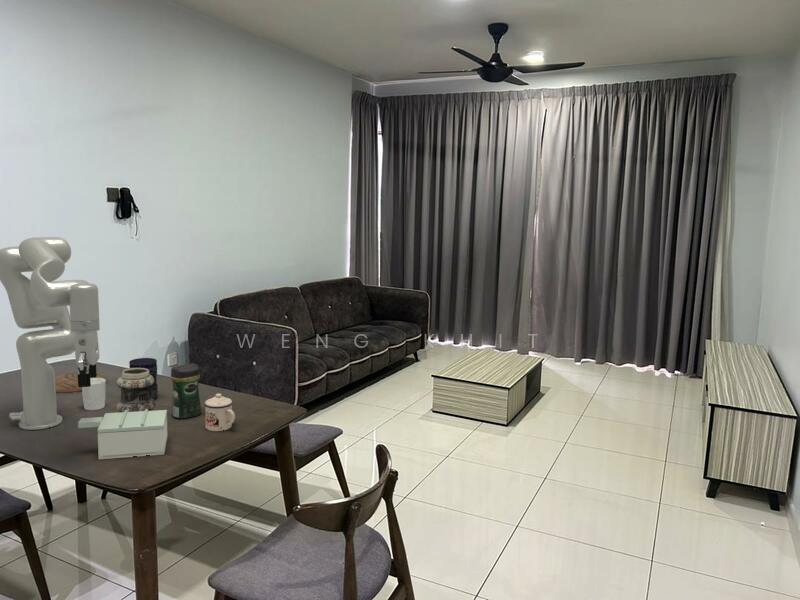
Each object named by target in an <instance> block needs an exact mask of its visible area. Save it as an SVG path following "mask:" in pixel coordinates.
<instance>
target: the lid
mask: <svg viewBox="0 0 800 600" xmlns="http://www.w3.org/2000/svg"><path fill="white" fill-rule="evenodd" d="M166 415H167V416H168V410H167V409H163V410H162V409H160V410H151V411H148V409H145V411H138V412H128V411H127V410H125V411H124V412H105V413H104V416H100V417H99V416H98V417H81V418H80V419H79V420H78V422H77V427H78V429H85V428H86V429H87V428H97V434H98V433H103V432H119V431H135V430H150V429H164V425H165V420H166Z"/></svg>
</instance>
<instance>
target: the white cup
mask: <svg viewBox="0 0 800 600" xmlns="http://www.w3.org/2000/svg"><path fill="white" fill-rule="evenodd" d="M90 381H91V386H90V387H82V392H81V394H82V401H83V409H84V410H86V411H98V410H101V409H104V408H105V407H106V390H107V389H106V385H107V383H106V380H105V379H103V378H90Z"/></svg>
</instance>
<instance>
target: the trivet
mask: <svg viewBox="0 0 800 600" xmlns="http://www.w3.org/2000/svg"><path fill="white" fill-rule="evenodd" d="M95 378H103V379H105V380H106V384H108V376H106V375H105V374H103V373H99V372H97V376H96V377H95ZM55 385H56V393H69V394H74V393H73V392H79V393H82V387H78V371H77V372H65V373H59V374H55Z"/></svg>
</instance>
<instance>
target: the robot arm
mask: <svg viewBox="0 0 800 600" xmlns="http://www.w3.org/2000/svg"><path fill="white" fill-rule="evenodd" d="M71 256H72V248H71V246H70V244H69V242H68V241H67V240H66V239H65V238H63V237H58V236H54V237H53V236H51V237H49V236H45V237H43V236H42V237H36V236H35V237H30V238H26V239H24V240H23V241H21V242H20V243H19V245H18V246H9V247H3V248H1V249H0V283H1V284H2V285H3V287H4V289H5V291H6V294H7V297H8V301H9V305H10V308H11V312H12V316H13V319H14V322H15V324H16V327H18V328H20V329H22V330H23V329H25V330H28V329H39V328H47V327H52V328H48V329H39V330H33V331H28V332H25V333H22V334H20V335H19V336H18V337H17V338H16V342H15V346H16V352H17V354H18V355H17V356H18V359H19V364H20V373H21V374H20V375H21V388H22V390H21V391H22V392H21V393H22V407H23V410H22V411H19V412H9V415H8V417H9V419H11V421H17V420H18V421H19V422H18V427H19V428H21V429H23V430H26V431H27V430H29V431H31V430H32V431H34V430H37V431H38V430H45V429H49V427H50V428H52V427H55V426H59V425H60V424H61V423H62V422H63V416H62V415H60V414H58V413H57V412H58V409H57V394H56V385H55V375H56V372H55V370H54V367H53V366H52V365H50V363H49V362H47V360H48V359H52V358H57V357H58V358H59V357H64V356H67V355H71V354H74V355H75V364H76V366H77V372H78V387H90V386H91V381H90V378H95V377H96V376H97V373H98V372H97V363H98V361H99V359H100V345H99V335H98V331H100V327H101V326H100V308H99V307H100V306H99V305H100V304H99V302H100V301H99V288H98V286H97V285H96V284H95V283H90V282H89V281H87V280H84V279H74V280H73V279H72V280H58V279H59V278H60V277H61V276H62V275H63V274H64V272H65V270H66V266H65V265H66V263H67V262H69V260H70V259H71ZM23 273H31V275H30V278H28V277H27V276H26V275H24V274H23ZM56 280H57V281H56ZM68 306H69V308H68Z"/></svg>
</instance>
